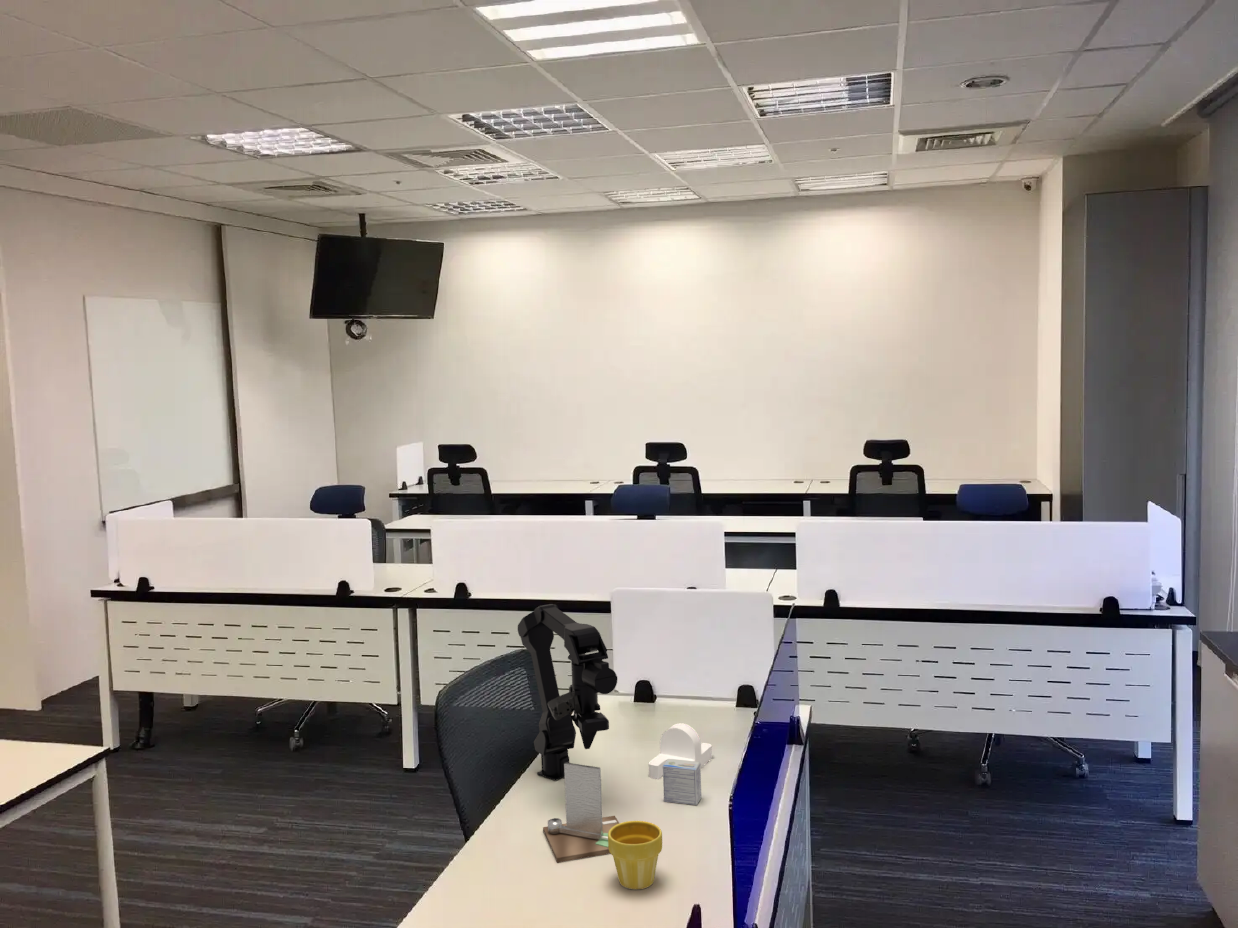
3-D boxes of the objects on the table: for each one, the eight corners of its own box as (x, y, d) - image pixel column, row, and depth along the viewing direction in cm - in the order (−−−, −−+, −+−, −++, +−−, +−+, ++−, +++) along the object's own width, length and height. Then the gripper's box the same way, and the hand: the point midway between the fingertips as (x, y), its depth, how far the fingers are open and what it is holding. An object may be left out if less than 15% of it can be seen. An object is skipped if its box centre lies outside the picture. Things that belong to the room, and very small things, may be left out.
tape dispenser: (647, 778, 231) (645, 735, 230) (679, 751, 247) (678, 711, 246) (683, 785, 227) (681, 741, 226) (713, 758, 242) (712, 716, 241)
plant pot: (626, 862, 191) (625, 815, 190) (672, 874, 186) (671, 826, 185) (599, 886, 182) (597, 837, 181) (647, 900, 177) (645, 849, 176)
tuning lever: (545, 832, 202) (542, 762, 200) (552, 826, 204) (549, 757, 203) (612, 844, 195) (609, 773, 194) (618, 838, 198) (615, 767, 197)
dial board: (557, 862, 191) (557, 856, 191) (543, 831, 205) (542, 826, 205) (633, 849, 196) (633, 843, 196) (614, 819, 209) (614, 814, 209)
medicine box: (701, 797, 219) (701, 761, 218) (697, 806, 215) (696, 769, 214) (668, 794, 222) (667, 757, 221) (663, 802, 217) (662, 765, 217)
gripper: (541, 674, 224) (544, 738, 226) (558, 699, 207) (561, 769, 208) (587, 669, 228) (589, 732, 229) (608, 693, 210) (610, 761, 211)
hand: (587, 748), depth 219 cm, fingers closed
